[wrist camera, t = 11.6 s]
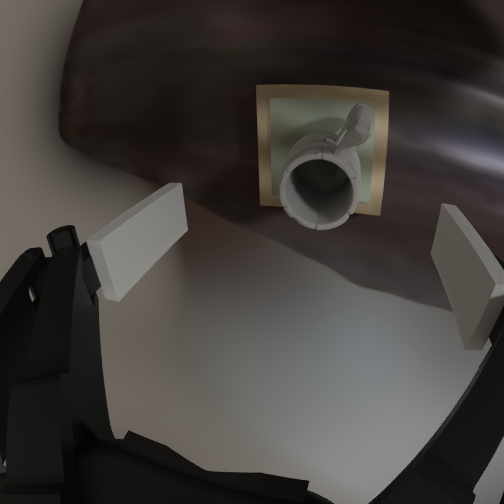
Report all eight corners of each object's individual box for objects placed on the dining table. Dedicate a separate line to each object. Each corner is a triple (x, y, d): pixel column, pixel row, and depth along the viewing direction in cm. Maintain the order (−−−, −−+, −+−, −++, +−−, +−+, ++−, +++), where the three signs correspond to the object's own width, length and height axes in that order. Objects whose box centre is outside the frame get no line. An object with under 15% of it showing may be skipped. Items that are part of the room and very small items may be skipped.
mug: (276, 175, 33) (246, 217, 23) (329, 84, 27) (326, 76, 17) (335, 211, 33) (331, 267, 23) (393, 124, 27) (423, 141, 17)
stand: (262, 85, 32) (254, 84, 29) (384, 91, 28) (389, 91, 25) (265, 197, 38) (259, 206, 36) (377, 206, 35) (380, 216, 32)
